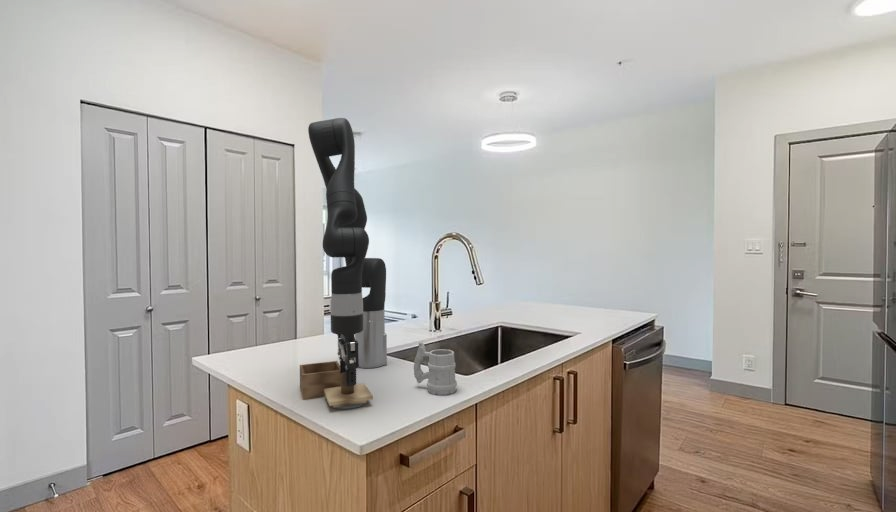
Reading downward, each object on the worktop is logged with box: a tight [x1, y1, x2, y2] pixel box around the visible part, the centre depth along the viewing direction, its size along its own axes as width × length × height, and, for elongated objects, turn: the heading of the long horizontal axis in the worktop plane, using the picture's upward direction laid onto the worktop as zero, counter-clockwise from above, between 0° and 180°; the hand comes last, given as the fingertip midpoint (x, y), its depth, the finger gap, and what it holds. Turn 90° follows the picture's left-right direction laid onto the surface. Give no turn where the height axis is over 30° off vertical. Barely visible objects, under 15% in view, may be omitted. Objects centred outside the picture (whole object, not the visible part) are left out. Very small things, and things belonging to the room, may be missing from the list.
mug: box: [413, 341, 458, 396], centre depth 110 cm, size 8×12×12 cm, turn 68°
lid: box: [324, 372, 374, 409], centre depth 102 cm, size 10×10×6 cm
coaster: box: [329, 400, 369, 410], centre depth 102 cm, size 9×9×1 cm
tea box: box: [299, 360, 341, 401], centre depth 110 cm, size 10×10×6 cm
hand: (347, 380), depth 102 cm, fingers open, 8 cm apart
